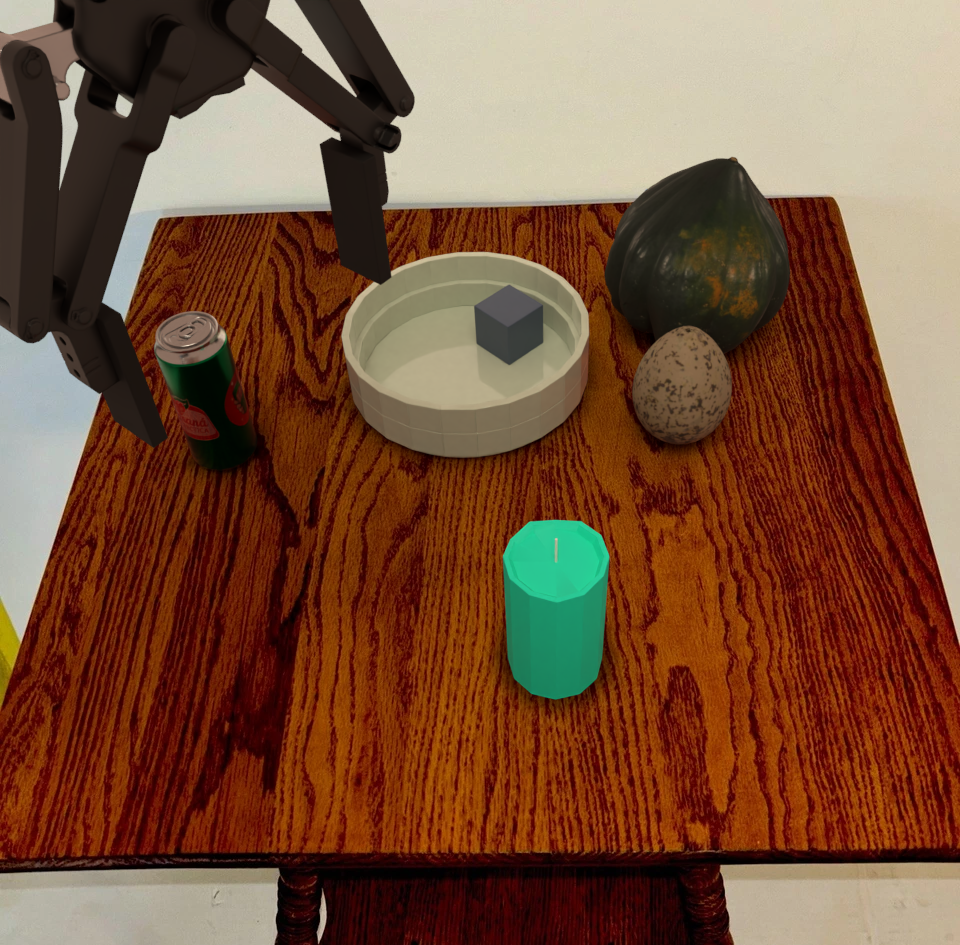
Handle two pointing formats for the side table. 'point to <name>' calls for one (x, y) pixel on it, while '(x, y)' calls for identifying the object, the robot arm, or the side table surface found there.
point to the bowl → (463, 356)
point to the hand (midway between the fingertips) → (261, 345)
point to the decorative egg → (682, 386)
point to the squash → (700, 256)
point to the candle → (555, 606)
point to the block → (509, 324)
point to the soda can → (205, 390)
